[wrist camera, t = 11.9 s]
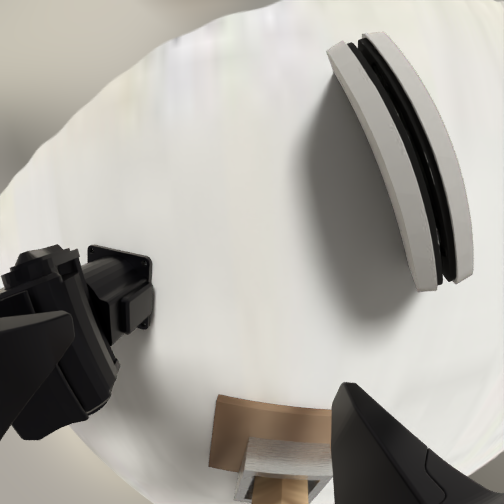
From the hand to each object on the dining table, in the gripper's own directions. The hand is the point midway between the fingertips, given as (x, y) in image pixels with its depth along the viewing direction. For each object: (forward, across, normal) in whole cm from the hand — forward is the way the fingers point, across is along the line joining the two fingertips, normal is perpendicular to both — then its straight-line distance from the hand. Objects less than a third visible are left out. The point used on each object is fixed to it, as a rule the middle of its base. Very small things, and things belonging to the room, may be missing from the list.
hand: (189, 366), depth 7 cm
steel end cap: (+12, -7, +22) cm, 26 cm away
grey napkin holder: (+14, -9, -9) cm, 19 cm away
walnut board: (+13, -6, +20) cm, 24 cm away
